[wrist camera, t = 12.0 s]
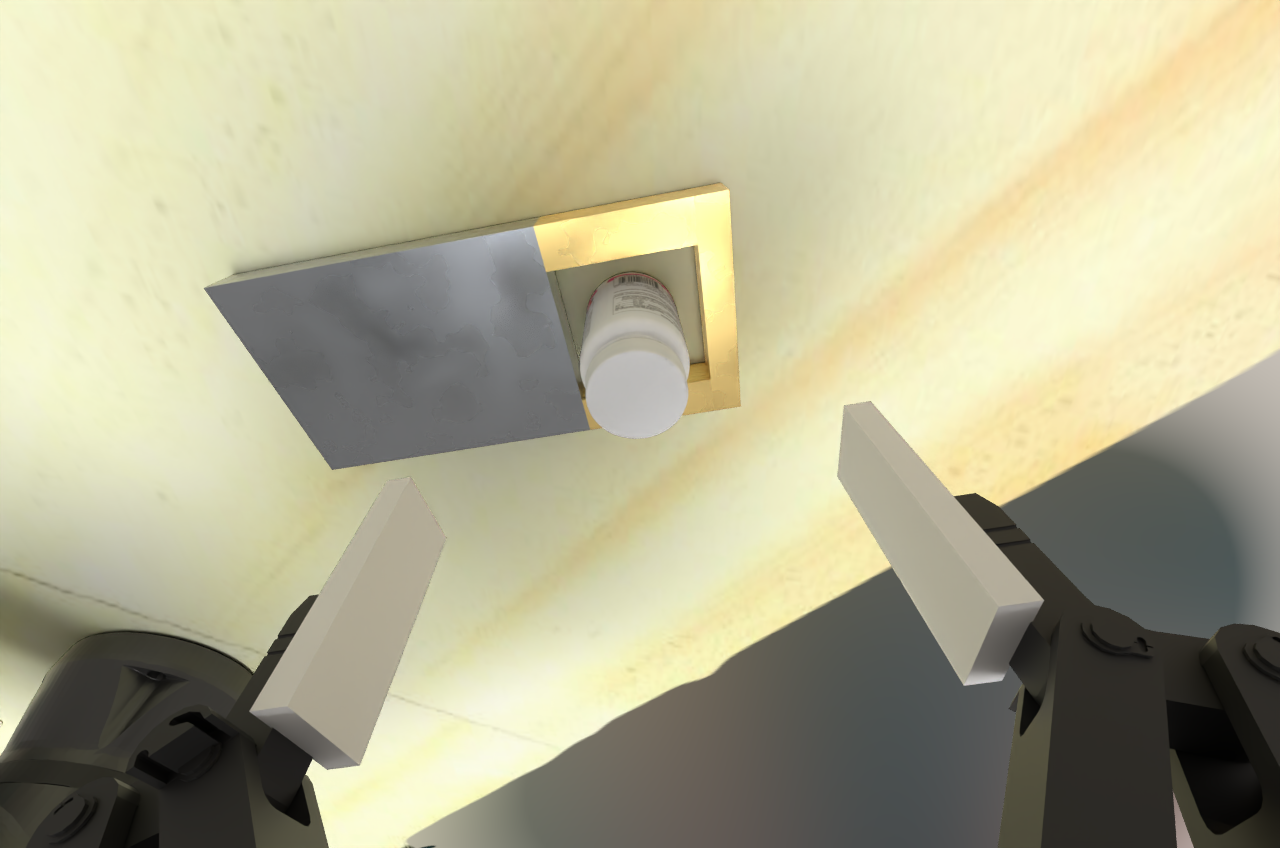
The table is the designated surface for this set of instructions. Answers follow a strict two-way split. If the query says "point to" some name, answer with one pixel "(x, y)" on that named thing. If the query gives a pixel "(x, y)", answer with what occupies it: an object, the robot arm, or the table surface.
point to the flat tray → (468, 328)
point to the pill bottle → (634, 357)
